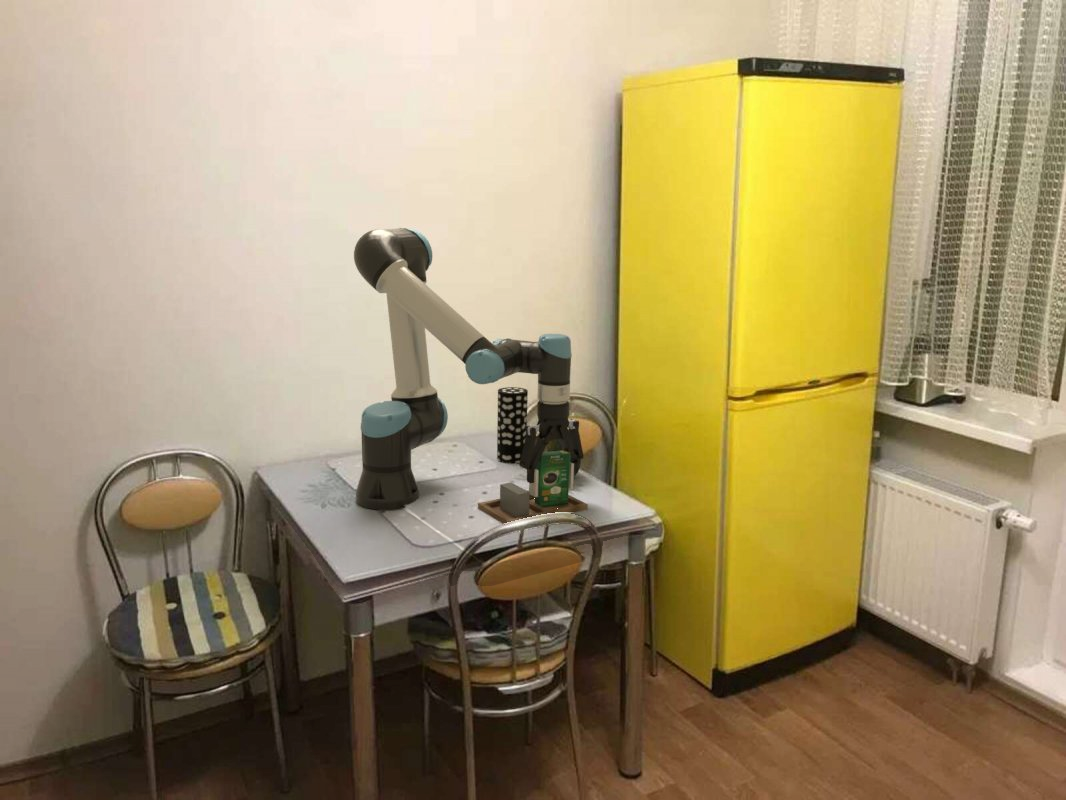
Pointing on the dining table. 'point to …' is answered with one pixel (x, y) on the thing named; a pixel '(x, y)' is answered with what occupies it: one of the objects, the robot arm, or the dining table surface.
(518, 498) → the block
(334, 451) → the dining table surface
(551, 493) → the coffee box
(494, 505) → the tray
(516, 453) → the white-spotted black cylinder
